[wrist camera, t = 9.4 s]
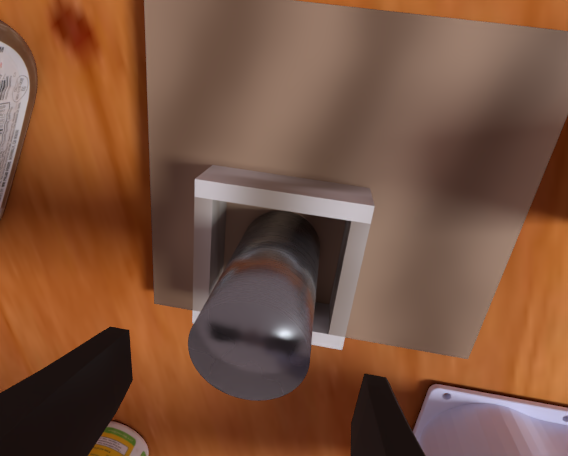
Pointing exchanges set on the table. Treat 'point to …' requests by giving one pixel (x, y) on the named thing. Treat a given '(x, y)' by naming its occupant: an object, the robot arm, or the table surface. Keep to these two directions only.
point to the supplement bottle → (119, 442)
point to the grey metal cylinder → (261, 311)
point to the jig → (350, 155)
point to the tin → (14, 103)
